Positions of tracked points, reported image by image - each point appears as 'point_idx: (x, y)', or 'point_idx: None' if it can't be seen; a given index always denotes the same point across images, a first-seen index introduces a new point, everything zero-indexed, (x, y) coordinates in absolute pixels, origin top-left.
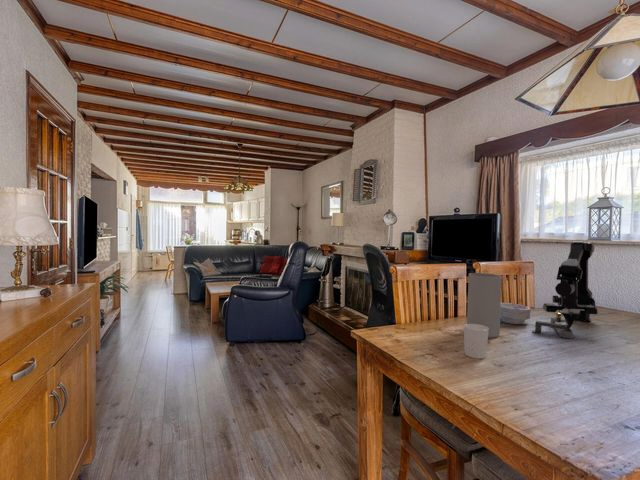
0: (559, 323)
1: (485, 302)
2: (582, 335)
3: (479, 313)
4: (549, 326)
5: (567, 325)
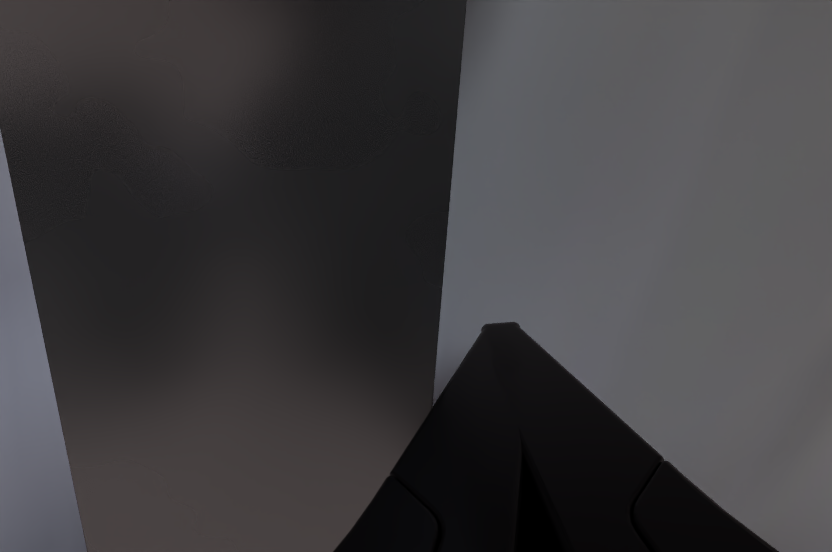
0: (181, 389)
1: None
2: None
3: None
4: None
5: None
